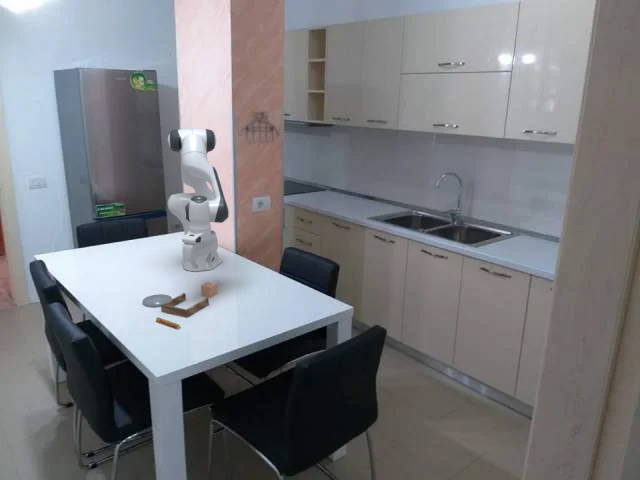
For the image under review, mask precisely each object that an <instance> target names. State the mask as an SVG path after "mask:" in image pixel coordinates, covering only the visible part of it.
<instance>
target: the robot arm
mask: <svg viewBox="0 0 640 480" xmlns="http://www.w3.org/2000/svg"><path fill="white" fill-rule="evenodd" d="M167 143H168V146H169V149H170V150H171V151H173V152H175V153H181V154H180V172H181V181H182V183H183V184H185V185H187V186H188V187H190V188H192V189H194V192H181V193H180V192H179V193H175V194H171V195H170V196H169V197H168V200H167V208H168V210H169V211H170V213H171V214H173V215H174V216H175V217H176V218H177V219H178V220H179V221H180V223H181V224H182V227H183V233H184V236H182V238H181V243H183V244H182V258H183V262H182V263H181V264H182V269H184V270H185V271H188V272H202V271H212V270H214V269H215V268H217V267H218V266H219V265H220V264H222V263H223V262H224V260H223V259H222V258H220V257H219V253H218V249H219V242H218V236H217V233H216V232H215V230H213V229H212V225H211V223H216V224H217V223H218V224H219V223H224V222H226V220H227V219H229V215H230V214H229V213H230V210H229V206H228V204H227V201H226V198H225V194H224V191H223V188H222V184H221V181H220V178H219V174H218V171H217V169H216V167H215V166H213V165H211V164H210V162H209V160H208V153H209V152H212V151H214V149H215V148H216V144H217V137H216V135H215V132H214V131H213V130H212V129H210V128H209V129H208V128H205V129H203V128H195V127H194V128H182V129H178V128H176V129H172V130H170V132H169V133H168V136H167ZM207 183H208V184H209V185H210V186H211V187H209V186H208V184H207Z"/></svg>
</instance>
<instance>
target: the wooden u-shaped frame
mask: <svg viewBox="0 0 640 480" xmlns="http://www.w3.org/2000/svg"><path fill="white" fill-rule="evenodd" d="M209 299H210V298H209V297H205V298H204V299H202V300H201V301H198V302H197V303H195V304H193V305H192V306H190V307H188V308H187V309H186V308H181V307H178V305H179V304H181V303H183V302H185V301H186V300H187V296H186V293H185V292H183V293H181V294H179V295H178V296H175V297H174V298H173V297H172V300H170V301H168V302H166V303H164V304H162V305H161V307H160V309H161V310H160V311H161V313H166V314H168V315H169V314H170V315H174V316H179V317H183V318H189V317H191V316H193V315H194V314H196V313H197V312H199V311H201V310H203V309H204V308H206V307H208V306H209V305H210V302H209Z"/></svg>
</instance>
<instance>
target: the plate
mask: <svg viewBox="0 0 640 480" xmlns="http://www.w3.org/2000/svg"><path fill="white" fill-rule="evenodd" d="M172 299H173V297H172V296H171V295H168V294H160V293H159V294H153V295H148V296H147V297H145V298H143V299H142V305H143V306H144V307H147V308H161V305H162V304H164V303H166V302H168V301H170V300H172Z"/></svg>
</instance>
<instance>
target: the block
mask: <svg viewBox="0 0 640 480" xmlns="http://www.w3.org/2000/svg"><path fill="white" fill-rule="evenodd" d="M217 295H218V283H214V282H210V281H209V282H208V281H206V282H205V283H203V284H201V285H200V296H201V297H203V298H204V297H205V298H209V299H211V298H213V297H215V296H217Z"/></svg>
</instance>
